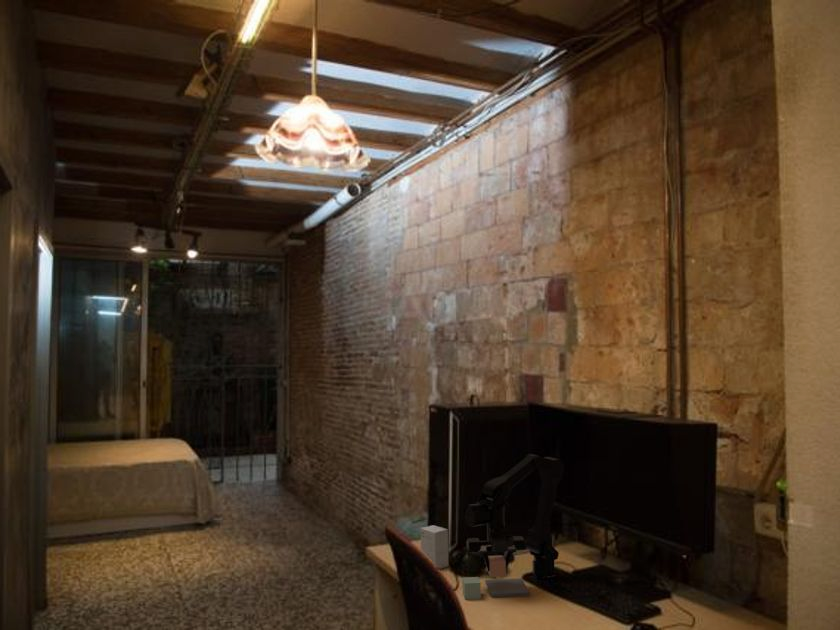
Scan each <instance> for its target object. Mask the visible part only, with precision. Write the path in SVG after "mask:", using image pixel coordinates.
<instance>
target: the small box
mask: <svg viewBox="0 0 840 630" xmlns="http://www.w3.org/2000/svg"><path fill="white" fill-rule="evenodd" d="M448 530H449V529H448V528H444V527H441V526H437V525H434V524H432V525H428V526H424V527H423V526H422V527H420V551H421V550H422V551H423V552H424V553H425V554H426V555H427V556H428V557H429V558H430V559H431V560H432V562H433V563H434V564H435V565H436V566H437V567H438V568H439V569H438V570H441V569H444V568H447V567H449V536H448V535H449V534H448V533H449V531H448Z"/></svg>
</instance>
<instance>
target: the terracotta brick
mask: <svg viewBox="0 0 840 630" xmlns="http://www.w3.org/2000/svg"><path fill="white" fill-rule="evenodd" d="M488 560H489V572H488V571H487V572H488V575H489V577H490V578H502V577H503V578H505V577H507V569H506V560H505V559H504V555H488Z"/></svg>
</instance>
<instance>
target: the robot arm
mask: <svg viewBox="0 0 840 630" xmlns="http://www.w3.org/2000/svg"><path fill="white" fill-rule="evenodd" d="M536 469H538V475H539V478H540V482H541V485H540V490H539V496H538V501H537V502H538V503H537V507H536V515H535V521H534V522H535V523H534V525H533V526H532V528H531V529H529V528H527V530H526V537H525V538H524V537H523V536H522V535H518V536H517V535H516V536H514V535H513V534H506V529H505V528H506V526H505V508H508V507H510V504H509V503H508V502H507V501H506V499H507V498H508V497H509V496H510V495H511V492H512V490H513V488H514V487H515V486H516V485H517V484H519V482H521V481H522V480H523V479H525V478H526V477H527V476H528V475H529V474H531V473H532V472H533V471H535V470H536ZM564 471H565V464H564V463H563V461H562V460H561V459H559V458H553V457H550V456H544V457H542V456H541V455H536V454H532V453H529V454H527V455H526V456H525V457H524V458H523V459H522V460H521V461H520V462H519V463H517V464H516V465H514V466H513V467H511V469H510V470H508V471H507V472H506V473H504V474H503V475H502V476H498V477H494V478H492V479H490V480H489V481H486V482H485V483H484V484H483V486H482V487H483V489H482V490H481V492H480V494H479V496H478V498H477V501H476V503H475V504H474V503H472V504H471V503H470V504H468V505H467V506H468V507H467V509H466V510H465V512H464V521H465V523H466V525H467V526H468V527H470V528H475V527H478V526H479V527H480V526H483V525H486V540H480V538H479V537H468V538H467V539H466V541H465V542H466V548H467V550H468V552H469V553H473V552H475V553H478V554H480V555H482V558H483V560H484V563H485V566H486V570H487V572H489V560H488V556H489V551H488V550H487V548H491V550H492V552H493V553H499V552H500V553H501V552H503V557H504V559H505V560H506V570H507V569H508V565H509V562H510V559H511V557H512V555H513V554H515V553H517V551H523V550H524V551H525V550H527V549H528V550H529V553H530V556H533V560H532V562H531V563H532V574H533V575H534V576H535V578H536V577H537V578H542V577H544V576H545V577H546V576H551V575H554V574H555V575H556V573H555V560H558V557H559V555H560V553H559V551H558V550H557V549H556V548H555V547H554V546H553V536H552V532H551V530H550V529H551V527H550V526H551V519H552V515H553V507H554V501H555V494H556V488H557V485H558V484H559V482H561V480H562V478H563V475H564ZM537 578H536V579H537Z"/></svg>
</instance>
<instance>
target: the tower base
mask: <svg viewBox="0 0 840 630" xmlns="http://www.w3.org/2000/svg"><path fill="white" fill-rule="evenodd" d="M484 582H485V584H484V585H485V586H486V588H487V590H488V592H489V595H490V598H492V599H493V598H495V599H496V598H514V597H515V598H517V597H519V598H521V597H531V593H530V590H529V588H528V587H527V585H526V584H525V582H524V580H523V579H522V578H518V577H517V578H499V579H494V578H493V579H485V580H484Z"/></svg>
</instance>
